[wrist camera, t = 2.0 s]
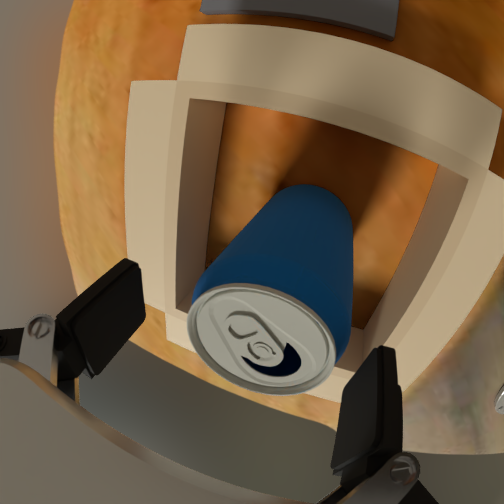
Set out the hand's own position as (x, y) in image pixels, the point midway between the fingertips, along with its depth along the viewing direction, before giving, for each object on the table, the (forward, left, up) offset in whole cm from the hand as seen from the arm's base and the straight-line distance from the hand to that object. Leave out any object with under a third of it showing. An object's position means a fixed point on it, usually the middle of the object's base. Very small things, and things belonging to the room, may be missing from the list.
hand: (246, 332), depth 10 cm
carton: (-1, 0, -11) cm, 11 cm away
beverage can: (-1, 0, -12) cm, 12 cm away
